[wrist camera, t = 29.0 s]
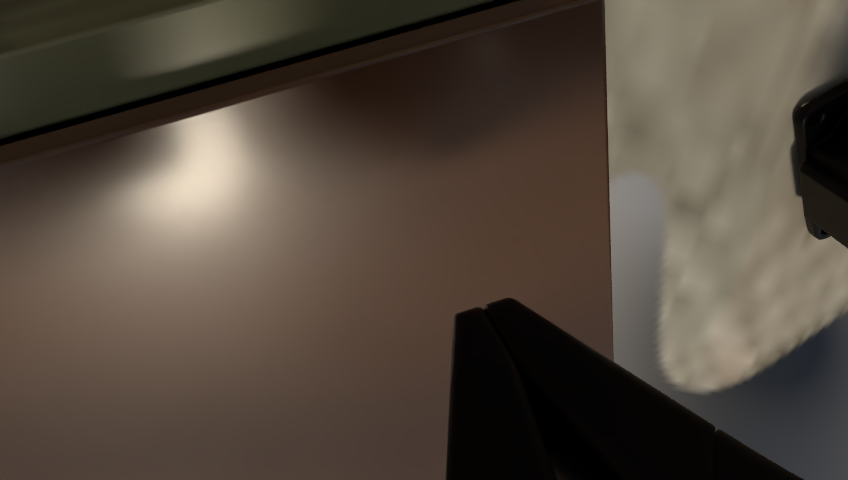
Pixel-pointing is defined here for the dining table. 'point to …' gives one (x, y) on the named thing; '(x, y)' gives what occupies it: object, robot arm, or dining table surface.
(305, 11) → the drawer
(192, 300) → the cabinet
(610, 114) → the dining table surface
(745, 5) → the dining table surface
